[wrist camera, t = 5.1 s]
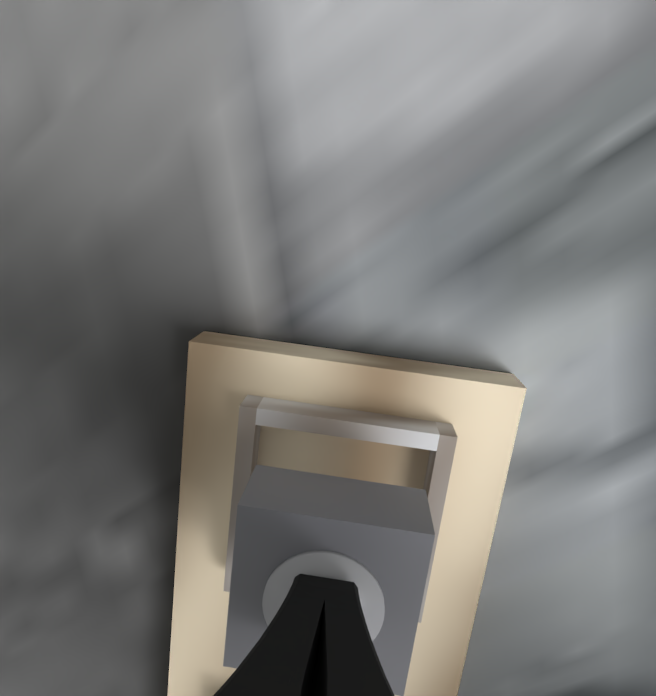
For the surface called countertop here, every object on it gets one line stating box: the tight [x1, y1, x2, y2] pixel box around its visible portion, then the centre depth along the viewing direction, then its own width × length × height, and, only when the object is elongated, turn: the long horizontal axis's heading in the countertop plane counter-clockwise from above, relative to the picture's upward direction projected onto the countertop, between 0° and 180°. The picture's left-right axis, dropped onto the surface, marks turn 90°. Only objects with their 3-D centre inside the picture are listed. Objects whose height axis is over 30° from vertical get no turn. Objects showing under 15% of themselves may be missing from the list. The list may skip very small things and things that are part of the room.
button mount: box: [168, 331, 527, 696], centre depth 18 cm, size 10×20×2 cm, turn 173°
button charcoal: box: [223, 465, 435, 696], centre depth 13 cm, size 4×4×2 cm
